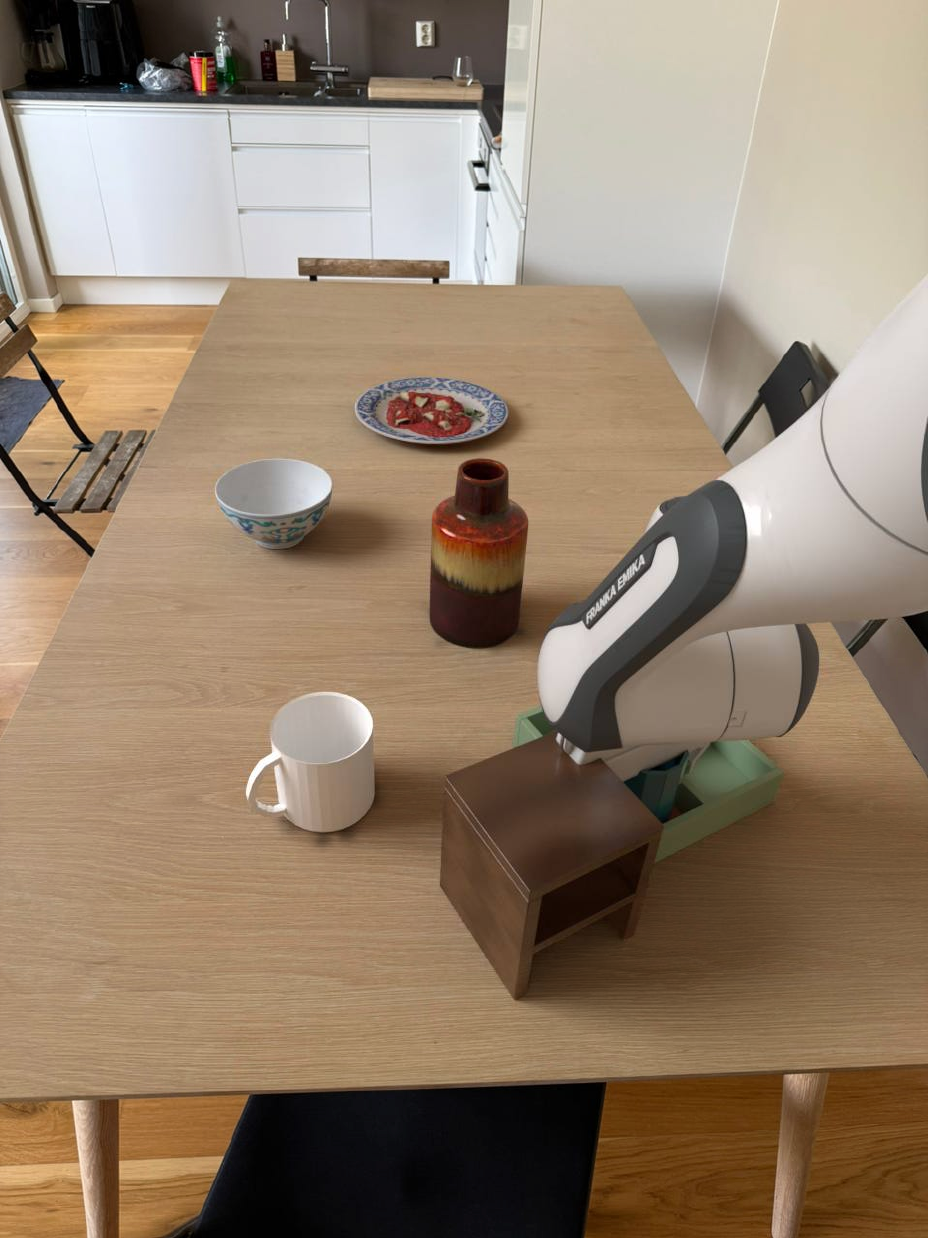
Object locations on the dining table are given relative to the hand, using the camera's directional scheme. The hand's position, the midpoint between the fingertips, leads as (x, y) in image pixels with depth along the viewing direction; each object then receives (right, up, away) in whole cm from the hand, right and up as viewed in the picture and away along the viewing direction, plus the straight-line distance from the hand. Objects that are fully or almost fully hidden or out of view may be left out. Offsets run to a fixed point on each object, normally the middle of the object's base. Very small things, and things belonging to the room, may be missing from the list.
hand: (640, 788), depth 81 cm
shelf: (-10, -9, -5) cm, 15 cm away
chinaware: (-41, +27, +39) cm, 63 cm away
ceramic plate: (-22, +49, +70) cm, 88 cm away
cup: (0, -3, +2) cm, 4 cm away
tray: (+1, 0, +8) cm, 8 cm away
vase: (-15, +15, +26) cm, 34 cm away
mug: (-31, -2, +3) cm, 31 cm away
